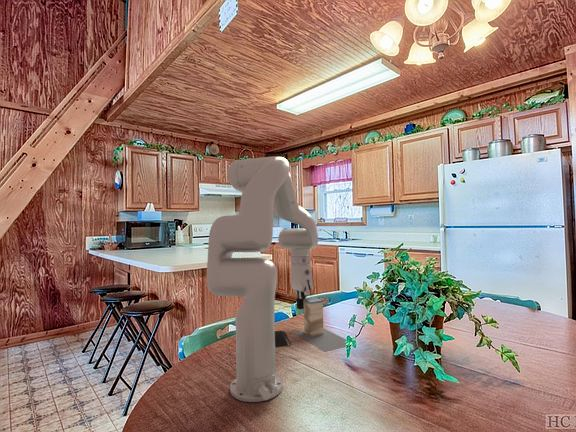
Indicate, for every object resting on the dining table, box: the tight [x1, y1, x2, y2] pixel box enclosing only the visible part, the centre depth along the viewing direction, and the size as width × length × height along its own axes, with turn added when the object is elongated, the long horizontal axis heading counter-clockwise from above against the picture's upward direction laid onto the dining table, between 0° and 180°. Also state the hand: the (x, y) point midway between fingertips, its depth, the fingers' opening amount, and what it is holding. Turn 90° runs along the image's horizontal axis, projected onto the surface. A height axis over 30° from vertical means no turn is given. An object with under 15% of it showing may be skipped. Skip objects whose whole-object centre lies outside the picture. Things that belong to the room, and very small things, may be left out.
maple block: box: [303, 297, 324, 336], centre depth 113 cm, size 5×5×12 cm
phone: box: [275, 330, 292, 348], centre depth 109 cm, size 8×1×15 cm
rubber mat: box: [294, 327, 347, 353], centre depth 108 cm, size 20×12×1 cm, turn 27°
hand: (301, 308), depth 121 cm, fingers closed
